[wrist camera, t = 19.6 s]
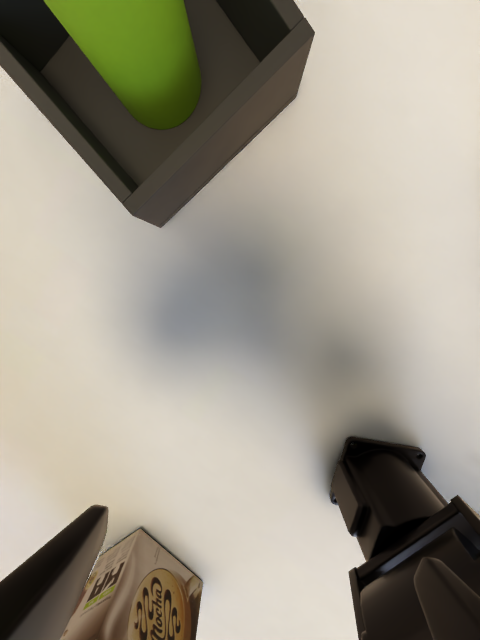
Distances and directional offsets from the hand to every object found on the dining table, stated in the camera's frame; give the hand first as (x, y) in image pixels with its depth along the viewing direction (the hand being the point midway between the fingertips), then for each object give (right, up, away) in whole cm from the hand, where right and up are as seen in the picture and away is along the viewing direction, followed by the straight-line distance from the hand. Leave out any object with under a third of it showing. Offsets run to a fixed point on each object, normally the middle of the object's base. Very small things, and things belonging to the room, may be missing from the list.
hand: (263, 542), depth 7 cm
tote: (-6, +21, +9) cm, 24 cm away
